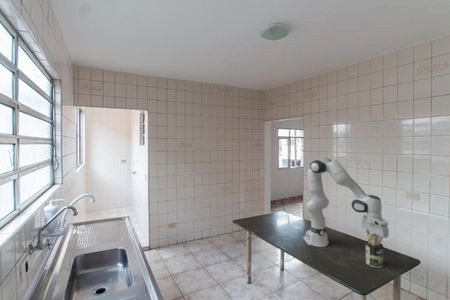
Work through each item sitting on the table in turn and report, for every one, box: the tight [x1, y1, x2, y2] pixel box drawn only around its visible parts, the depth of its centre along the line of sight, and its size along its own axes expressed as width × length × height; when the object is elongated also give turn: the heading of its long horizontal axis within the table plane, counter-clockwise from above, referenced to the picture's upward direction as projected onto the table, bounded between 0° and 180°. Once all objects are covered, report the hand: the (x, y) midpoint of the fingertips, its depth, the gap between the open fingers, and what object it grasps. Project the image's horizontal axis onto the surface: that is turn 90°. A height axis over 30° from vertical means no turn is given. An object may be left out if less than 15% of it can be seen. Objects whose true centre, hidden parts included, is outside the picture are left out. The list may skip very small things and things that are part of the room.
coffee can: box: [365, 240, 384, 269], centre depth 164 cm, size 10×10×14 cm
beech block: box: [367, 233, 381, 246], centre depth 164 cm, size 5×5×6 cm
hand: (374, 238), depth 164 cm, fingers open, 8 cm apart
